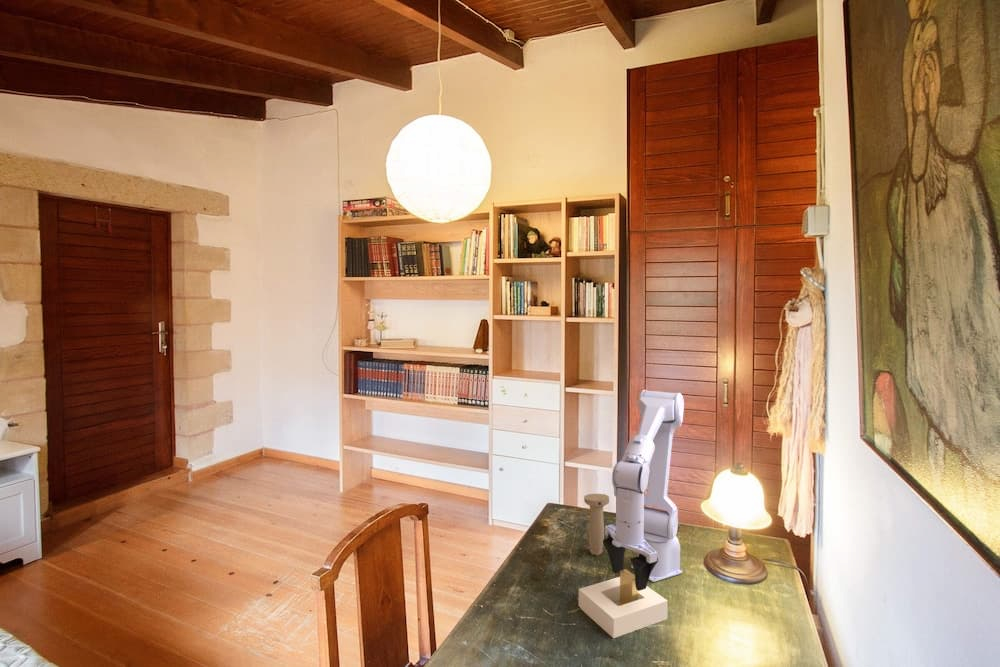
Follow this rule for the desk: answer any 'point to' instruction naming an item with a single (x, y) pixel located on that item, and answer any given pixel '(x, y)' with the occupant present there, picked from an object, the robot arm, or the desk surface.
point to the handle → (596, 521)
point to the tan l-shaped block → (627, 588)
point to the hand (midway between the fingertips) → (629, 580)
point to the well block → (621, 608)
